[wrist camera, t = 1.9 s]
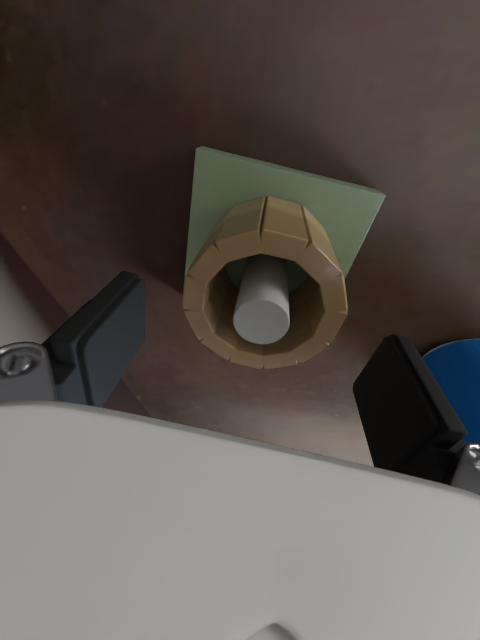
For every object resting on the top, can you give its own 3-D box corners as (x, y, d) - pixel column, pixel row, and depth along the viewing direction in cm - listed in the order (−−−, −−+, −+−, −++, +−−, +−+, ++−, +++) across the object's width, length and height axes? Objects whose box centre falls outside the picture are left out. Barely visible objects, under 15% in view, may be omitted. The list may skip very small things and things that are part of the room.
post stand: (201, 145, 13) (145, 165, 8) (378, 189, 14) (447, 240, 8) (186, 297, 19) (147, 374, 13) (313, 327, 19) (328, 414, 13)
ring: (217, 182, 13) (190, 211, 9) (349, 215, 13) (379, 256, 9) (201, 296, 17) (178, 350, 13) (304, 320, 17) (311, 381, 13)
